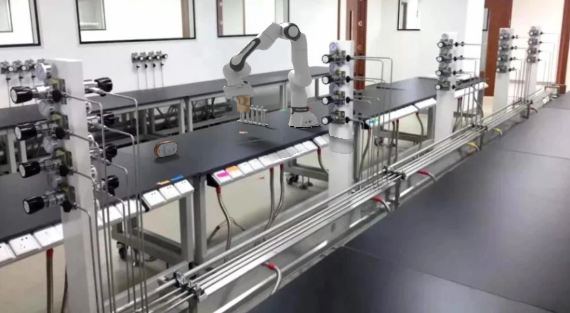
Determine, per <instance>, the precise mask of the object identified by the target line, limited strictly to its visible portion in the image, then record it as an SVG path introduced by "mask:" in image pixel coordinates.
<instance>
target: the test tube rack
mask: <svg viewBox="0 0 570 313" xmlns="http://www.w3.org/2000/svg"><path fill="white" fill-rule="evenodd" d="M254 111H255V113H254ZM259 111H260V122H259ZM268 111H269V109H264V106H260V108H259V105H256V106H254V104H250V112H243V113H241V112H239V119H238V120H236V121H237V122H238V121H239V122H240V123H243V122H244V123H245V124H250V125H252V124H253V125H256V126H260V125H262V126H261V127H266V126H265V125H267V126H269V124H268V123H266V112H268ZM245 113H246V114H245ZM254 114H255V115H254ZM245 115H246V118H245ZM254 116H255V117H254ZM254 118H255V121H254ZM239 122H238V123H239Z"/></svg>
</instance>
